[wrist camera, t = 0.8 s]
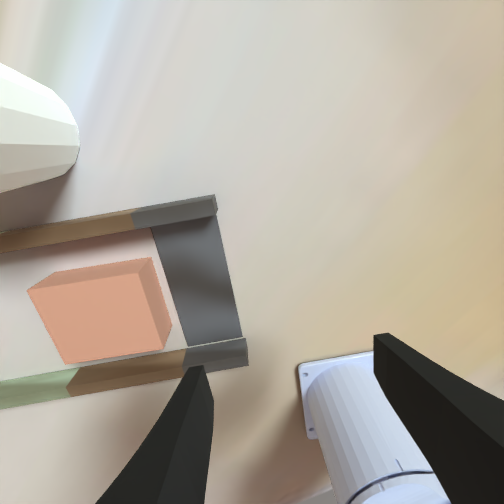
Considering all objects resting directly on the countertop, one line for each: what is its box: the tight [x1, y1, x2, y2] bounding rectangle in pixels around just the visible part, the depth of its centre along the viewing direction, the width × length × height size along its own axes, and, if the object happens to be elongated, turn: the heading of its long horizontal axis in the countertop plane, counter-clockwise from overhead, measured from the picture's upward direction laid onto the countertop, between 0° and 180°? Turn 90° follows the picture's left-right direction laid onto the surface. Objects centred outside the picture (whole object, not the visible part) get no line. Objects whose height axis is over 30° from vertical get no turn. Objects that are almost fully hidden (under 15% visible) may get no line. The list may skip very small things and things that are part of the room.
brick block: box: [27, 257, 172, 365], centre depth 19 cm, size 6×7×3 cm
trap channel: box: [0, 194, 249, 409], centre depth 19 cm, size 13×29×2 cm, turn 99°
